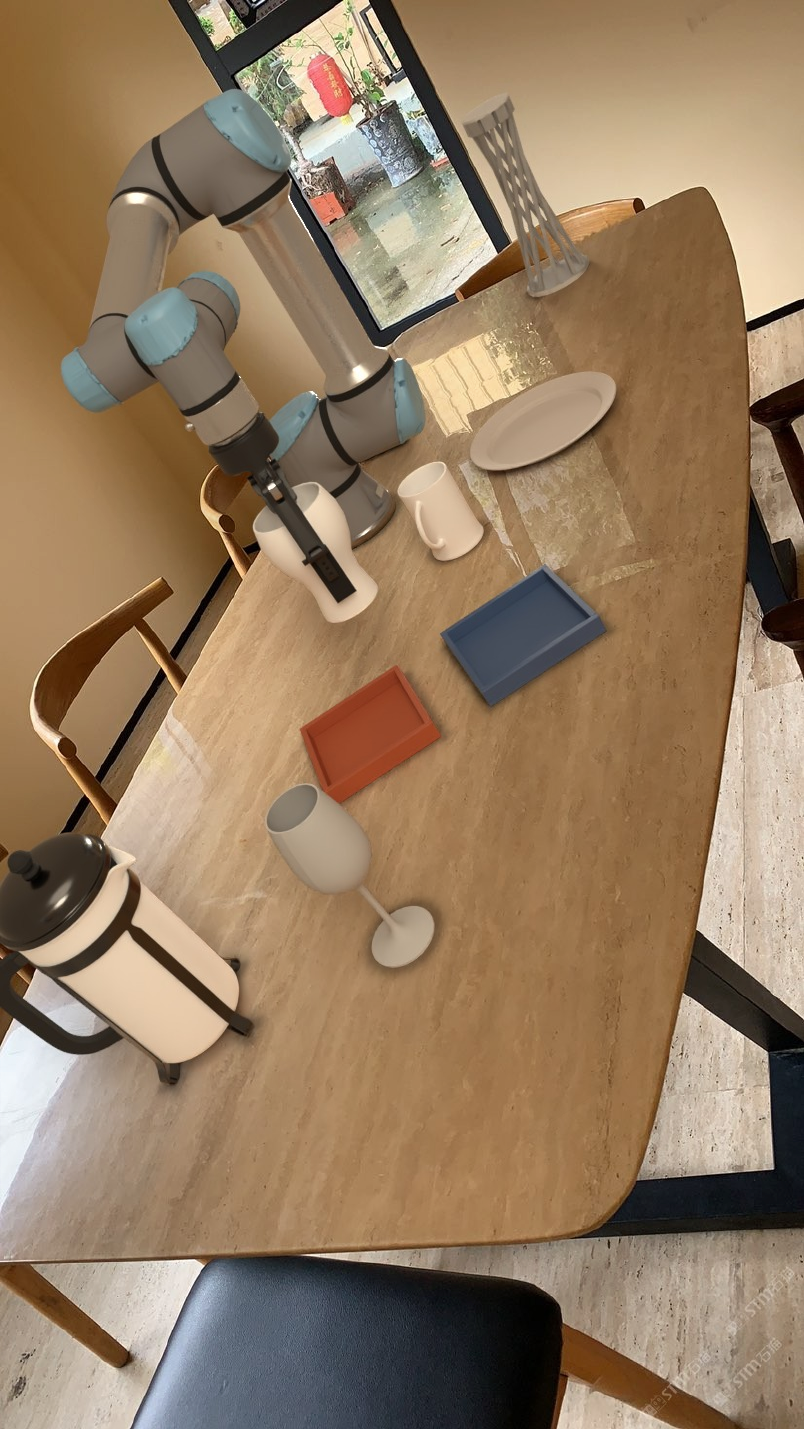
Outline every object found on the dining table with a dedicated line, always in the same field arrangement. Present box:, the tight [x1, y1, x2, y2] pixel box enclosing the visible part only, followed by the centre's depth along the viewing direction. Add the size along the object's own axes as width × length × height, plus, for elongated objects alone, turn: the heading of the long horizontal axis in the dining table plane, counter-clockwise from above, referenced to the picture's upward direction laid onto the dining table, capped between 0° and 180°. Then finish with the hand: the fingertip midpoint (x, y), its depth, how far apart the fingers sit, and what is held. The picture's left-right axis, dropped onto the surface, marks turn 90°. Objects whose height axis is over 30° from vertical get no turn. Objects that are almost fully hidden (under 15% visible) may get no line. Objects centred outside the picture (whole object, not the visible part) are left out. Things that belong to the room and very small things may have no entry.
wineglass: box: [264, 782, 436, 969], centre depth 100 cm, size 8×8×21 cm
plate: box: [469, 371, 617, 471], centre depth 169 cm, size 26×26×2 cm
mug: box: [396, 461, 485, 562], centre depth 153 cm, size 12×8×12 cm
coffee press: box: [0, 831, 255, 1086], centre depth 103 cm, size 17×16×30 cm
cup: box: [252, 482, 379, 624], centre depth 126 cm, size 11×11×15 cm
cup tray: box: [299, 664, 442, 805], centre depth 132 cm, size 16×16×2 cm
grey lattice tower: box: [461, 92, 591, 298], centre depth 204 cm, size 14×13×35 cm
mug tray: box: [439, 563, 607, 708], centre depth 131 cm, size 17×17×2 cm
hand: (335, 578), depth 128 cm, fingers closed on cup, 11 cm apart
